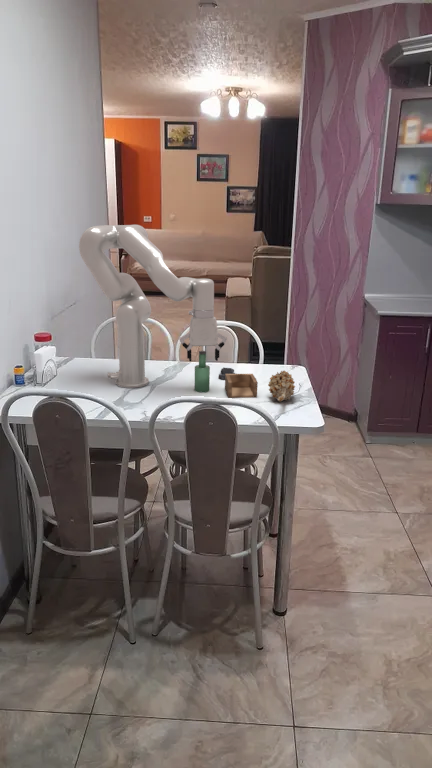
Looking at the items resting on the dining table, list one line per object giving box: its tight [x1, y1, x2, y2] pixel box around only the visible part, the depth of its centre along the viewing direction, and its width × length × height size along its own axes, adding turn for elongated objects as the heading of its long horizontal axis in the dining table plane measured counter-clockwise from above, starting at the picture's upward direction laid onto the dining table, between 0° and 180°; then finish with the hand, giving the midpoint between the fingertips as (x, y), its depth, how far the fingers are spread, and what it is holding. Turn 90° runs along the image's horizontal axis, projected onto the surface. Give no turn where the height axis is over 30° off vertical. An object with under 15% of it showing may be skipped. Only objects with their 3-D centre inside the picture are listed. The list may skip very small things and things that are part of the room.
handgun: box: [218, 367, 257, 381], centre depth 222 cm, size 2×16×12 cm
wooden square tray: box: [224, 373, 258, 399], centre depth 202 cm, size 10×10×6 cm
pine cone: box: [267, 370, 296, 402], centre depth 193 cm, size 22×10×10 cm, turn 178°
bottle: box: [193, 350, 211, 393], centre depth 203 cm, size 6×6×15 cm
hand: (203, 360), depth 202 cm, fingers open, 9 cm apart
